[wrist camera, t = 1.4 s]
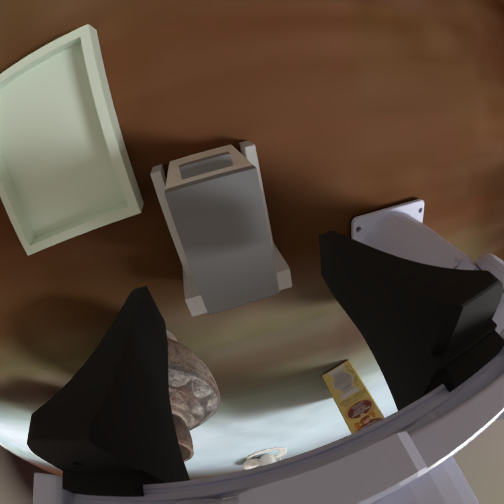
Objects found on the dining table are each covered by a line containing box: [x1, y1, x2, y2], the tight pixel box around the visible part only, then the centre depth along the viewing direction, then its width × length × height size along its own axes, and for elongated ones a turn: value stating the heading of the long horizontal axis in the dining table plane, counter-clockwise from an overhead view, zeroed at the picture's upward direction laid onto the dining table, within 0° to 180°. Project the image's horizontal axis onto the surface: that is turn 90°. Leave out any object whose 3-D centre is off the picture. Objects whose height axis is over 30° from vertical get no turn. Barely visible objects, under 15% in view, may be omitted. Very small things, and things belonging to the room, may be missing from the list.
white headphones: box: [242, 448, 287, 469], centre depth 44 cm, size 9×8×4 cm
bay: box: [150, 141, 292, 317], centre depth 18 cm, size 9×7×4 cm
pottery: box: [166, 329, 220, 462], centre depth 21 cm, size 11×25×12 cm, turn 135°
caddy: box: [164, 145, 280, 315], centre depth 16 cm, size 8×4×7 cm, turn 11°
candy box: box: [322, 360, 384, 434], centre depth 29 cm, size 9×4×15 cm, turn 29°
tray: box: [0, 24, 144, 256], centre depth 13 cm, size 12×9×2 cm
